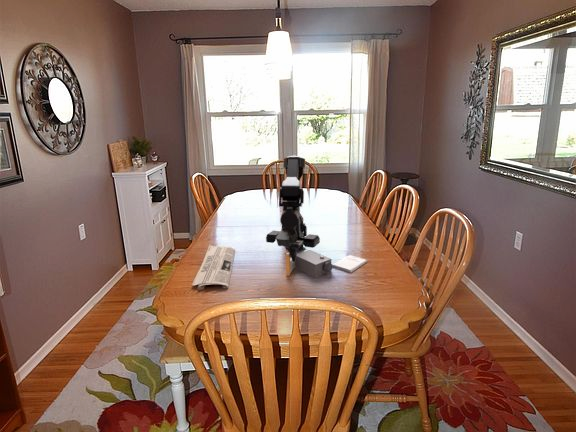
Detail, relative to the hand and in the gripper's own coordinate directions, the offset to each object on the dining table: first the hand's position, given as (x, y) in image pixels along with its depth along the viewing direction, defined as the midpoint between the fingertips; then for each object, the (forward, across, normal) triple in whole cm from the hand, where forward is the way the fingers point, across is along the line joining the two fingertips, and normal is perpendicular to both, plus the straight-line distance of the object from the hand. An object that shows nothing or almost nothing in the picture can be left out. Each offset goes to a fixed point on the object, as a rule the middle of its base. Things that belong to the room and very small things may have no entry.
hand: (293, 261), depth 135 cm
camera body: (+6, +4, +9) cm, 11 cm away
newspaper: (+6, -31, -6) cm, 32 cm away
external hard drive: (+7, +15, +18) cm, 25 cm away
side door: (+6, -3, +3) cm, 7 cm away
